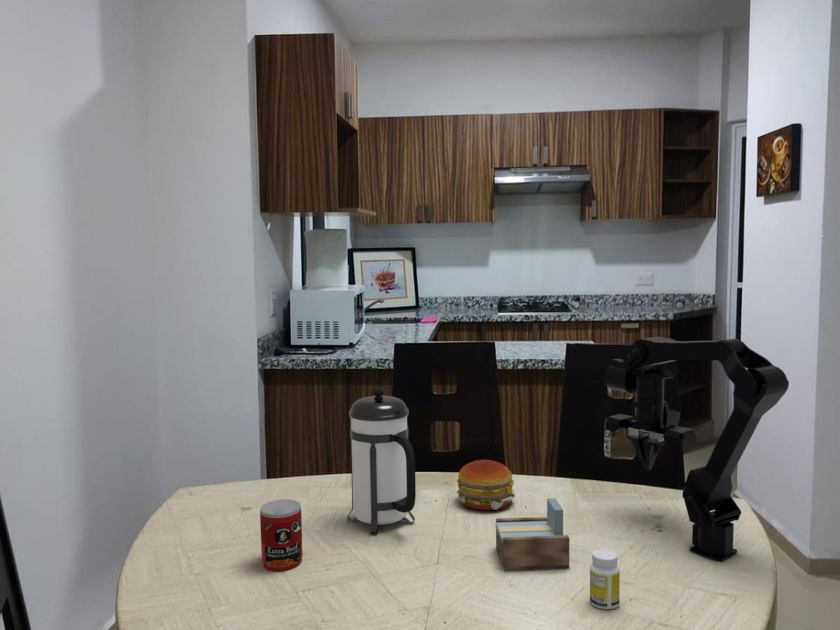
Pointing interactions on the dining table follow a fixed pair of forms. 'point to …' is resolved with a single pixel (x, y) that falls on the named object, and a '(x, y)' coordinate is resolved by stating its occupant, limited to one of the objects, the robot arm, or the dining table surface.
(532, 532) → the lid
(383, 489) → the coffee press
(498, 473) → the burger
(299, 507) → the canned food
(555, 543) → the pencil box
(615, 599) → the supplement bottle
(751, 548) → the dining table surface
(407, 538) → the dining table surface
